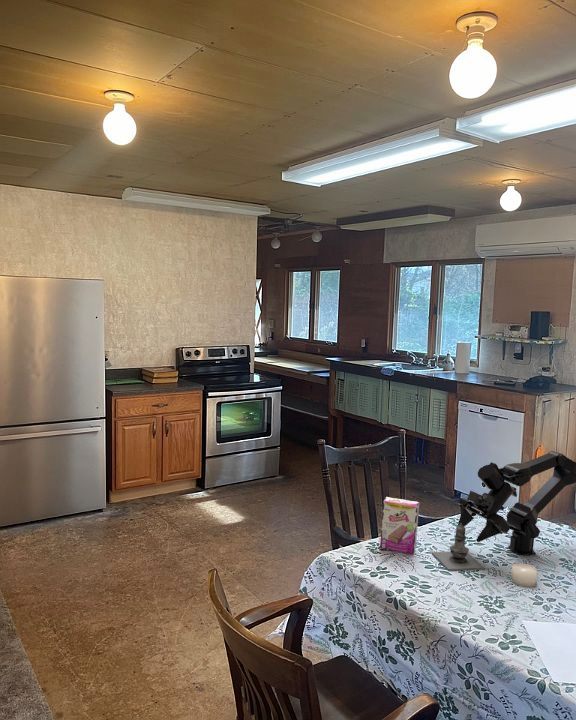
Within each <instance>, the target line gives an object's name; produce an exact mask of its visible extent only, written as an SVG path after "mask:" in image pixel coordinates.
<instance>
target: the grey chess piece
mask: <svg viewBox="0 0 576 720" xmlns="http://www.w3.org/2000/svg"><path fill="white" fill-rule="evenodd" d="M457 525H458V524H457ZM457 525H456V528H455V535H454V543H453V544H452V545H450V546H449V552H451V554H452V555H453V556H451V557H450V560H451V561H453V562H456V563H466V562H467V559H466V558H464V557H466V556H467V554H468V553H469V552H470V549H469V548H468V547H467V546H466V545H465V544H466V543H465V542H466V539H467V537H466V526H465V527H464V526H462V523H460V525H458V526H457Z"/></svg>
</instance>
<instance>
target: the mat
mask: <svg viewBox="0 0 576 720" xmlns="http://www.w3.org/2000/svg"><path fill="white" fill-rule="evenodd" d="M431 555H432V556H433V557H434V558H435V559H436V560H437V561H438V562H439V563H440V564H441V565H442V566H443V567H444V568H445V570H447V571H448V572H455V571H479V570H480V571H481V570H485V569H486V566H484V565H482V563H480V561H478V560H477V558H475V557H474V556H473V555H471V554H470V553H469V552H468V554H467V556H466V557H464V558H466V559H467V562H466V563H456V562H453V561H451V560H450V557H451V556H453V555H452V554H451V551H431Z"/></svg>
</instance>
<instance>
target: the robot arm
mask: <svg viewBox="0 0 576 720" xmlns="http://www.w3.org/2000/svg"><path fill="white" fill-rule="evenodd" d="M552 468H553V473H552V476H551V477H550V478H549V479H548V480H547V481H546V482H545V483H544V484H543V485H542V486H541V487H540V488H539V489H538V490H537V491H536V492H535V493H534V495H532V497H531V498H529V499H528V500H527V501H526V502H525V503H521V502H515V503H514V505H513V506H512V507H511V508H509V509H508V510H509V511H508V512H507V514H506V519H505V517H504V516H502V515H500V514H498V513H499V511H500V510H501V511H504V509H505V507H504V505H505V504H506V502H507V500H509V498H510V497H511V496H513V497H516V498H517V496H518V493H517V488H516V487H523V486H524V485H526V484H527V483H529V482H530V481H531V479H532V477H534V476H536V475H538V474H541V473H543V472H546V471H548V470H551V469H552ZM477 477H478V478H479V479H480V480H481V482H482V483H483V484H484V486H486V488H487V489H489V491H488V492H483V493H482V494H480V493H477V492H475V491H473V490H470V491H469V493H468V496H467V498H465V497H461V498H460V499H459V501H458V502H457V504H458V508H459V509H460V515H459V519H458V523H457V525H456V527H457V526H458V525H460V523H462V526H464V527H465V528H466V526H467V525H468V524H470V522H472V521H473V520H474V519H475V518H474V517H475V516H479V517H481V518H483V519H485V520H486V522H485V526H484V528H483V529H482V530H481V532H480V533H479V534H478V535H477V538H476V540H475V541H476V542H477V543H481V542H482V541H485V540H488V539H490V538H491V537H495V536H497V535H502V534H506V535H507V534H508V532H509V531H510V530H511V531H512V532H511V535H510V541H509V544H508V545H507V548H508V549H510V550H511V551H513V552H514V553H515V554H516V555H518V556H521V555H523V556H524V554H528V555H536V553H537V552H536V551H534V545H535V544H534V543H535V539H536V538H539V535H540V534H541V530H540V529H539V527H538V526H537V523H538V517H539V514H540V513H541V512H542V511H543V510H544V509H545V508H546V507H547V505H549V504H550V503H551V502H552V500H553V499H554V498H555V497H557V495H558V494H559V493H561V491H562V490H563V489H564V488H565V487H567V486H571V485H574V484H576V461H575V460H572V459H570V458H569V457H567V456H566V455H564V454H563V453H561V452H558V451H555V450H550V451H548V452H547V453H546V454H542V455H540V456H538V457H536V458H532V459H531V460H528V461H525V462H514V463H508V464H505V465H504V466H503V467H501V468H499V466H498V465H497V463H495V462H492V461H491V462H490V463H489V464H486V465H484V466H483V465H482V467H480V468H478V470H477ZM511 484H512V485H511ZM513 485H515V486H516V487H514V486H513Z"/></svg>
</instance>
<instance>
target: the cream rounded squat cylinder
mask: <svg viewBox="0 0 576 720" xmlns="http://www.w3.org/2000/svg"><path fill="white" fill-rule="evenodd" d="M537 578H538V569H537V568H536V567H535V566H533V565H530V564H526V563H522V562H515V563H513V564H511V572H510V580H511V582H512V583H514V584H515V585H518V586H521V587H529V588H531V587H535V586H536V585H537Z"/></svg>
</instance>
